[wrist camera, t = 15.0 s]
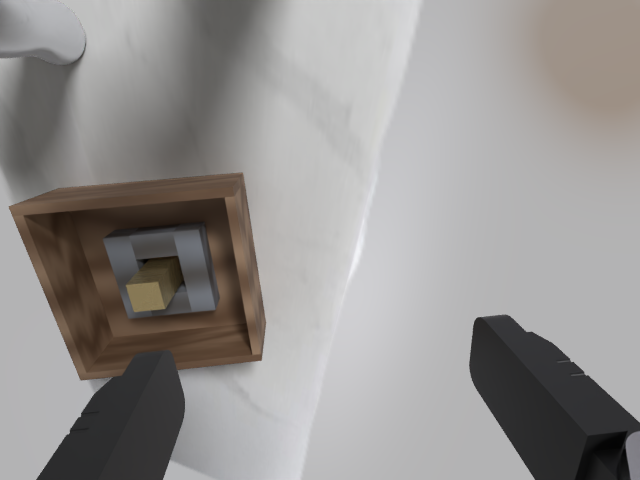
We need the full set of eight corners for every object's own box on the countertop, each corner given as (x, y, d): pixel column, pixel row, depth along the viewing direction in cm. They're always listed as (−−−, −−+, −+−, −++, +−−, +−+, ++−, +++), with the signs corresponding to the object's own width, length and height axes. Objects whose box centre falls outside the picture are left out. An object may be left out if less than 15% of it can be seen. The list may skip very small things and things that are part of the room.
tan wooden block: (152, 255, 45) (125, 285, 37) (179, 252, 45) (157, 281, 38) (159, 278, 46) (134, 312, 39) (185, 275, 46) (165, 309, 39)
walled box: (58, 188, 42) (8, 206, 34) (242, 172, 43) (232, 186, 35) (111, 339, 50) (80, 380, 43) (265, 323, 51) (261, 360, 44)
